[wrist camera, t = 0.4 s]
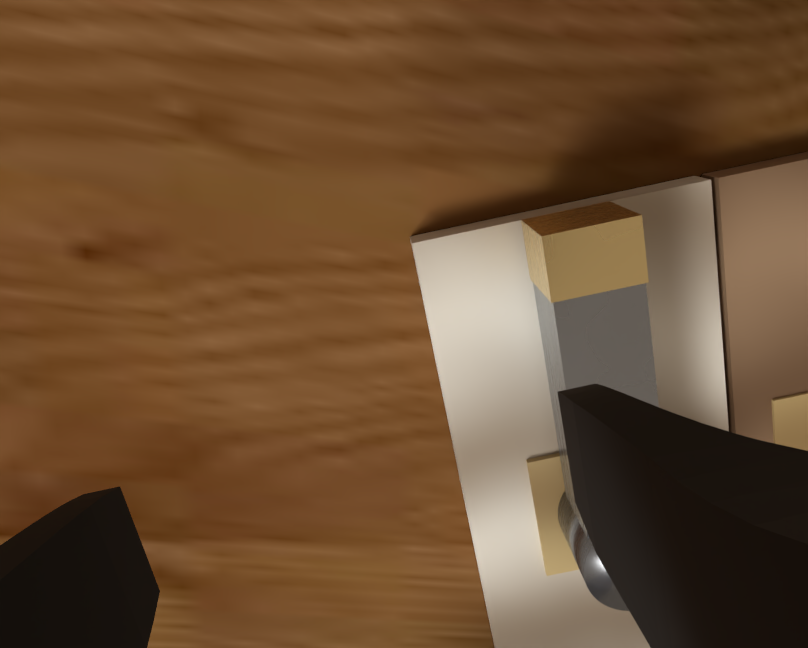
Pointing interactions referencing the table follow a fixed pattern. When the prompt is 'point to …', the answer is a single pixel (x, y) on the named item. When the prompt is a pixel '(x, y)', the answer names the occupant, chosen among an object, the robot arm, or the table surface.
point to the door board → (673, 358)
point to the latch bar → (591, 332)
